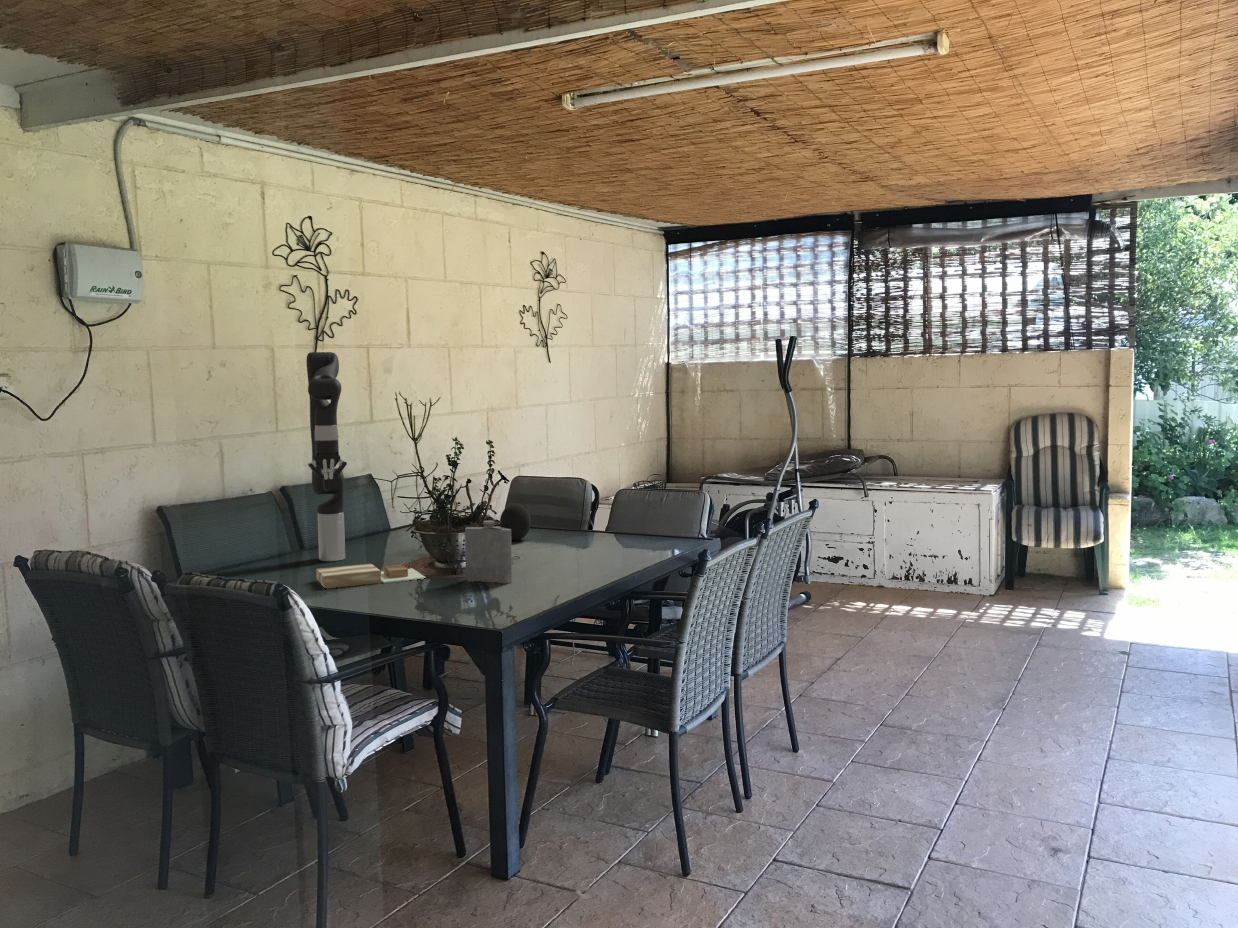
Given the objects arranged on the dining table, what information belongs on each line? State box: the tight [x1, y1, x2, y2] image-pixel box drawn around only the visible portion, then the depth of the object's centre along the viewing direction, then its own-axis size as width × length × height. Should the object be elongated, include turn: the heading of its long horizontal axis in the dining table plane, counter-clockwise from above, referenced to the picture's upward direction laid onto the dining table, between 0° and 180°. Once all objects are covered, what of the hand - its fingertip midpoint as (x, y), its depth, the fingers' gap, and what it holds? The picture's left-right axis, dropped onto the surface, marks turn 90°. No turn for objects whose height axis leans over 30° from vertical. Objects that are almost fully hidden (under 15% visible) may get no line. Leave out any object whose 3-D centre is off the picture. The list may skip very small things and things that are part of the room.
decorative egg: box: [499, 503, 532, 542], centre depth 396 cm, size 12×12×15 cm
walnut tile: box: [383, 564, 409, 578], centre depth 330 cm, size 8×6×2 cm
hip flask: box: [464, 520, 513, 584], centre depth 322 cm, size 16×4×20 cm, turn 75°
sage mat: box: [381, 567, 427, 584], centre depth 331 cm, size 16×14×1 cm
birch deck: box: [315, 563, 382, 589], centre depth 323 cm, size 13×18×4 cm
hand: (328, 490), depth 330 cm, fingers closed
